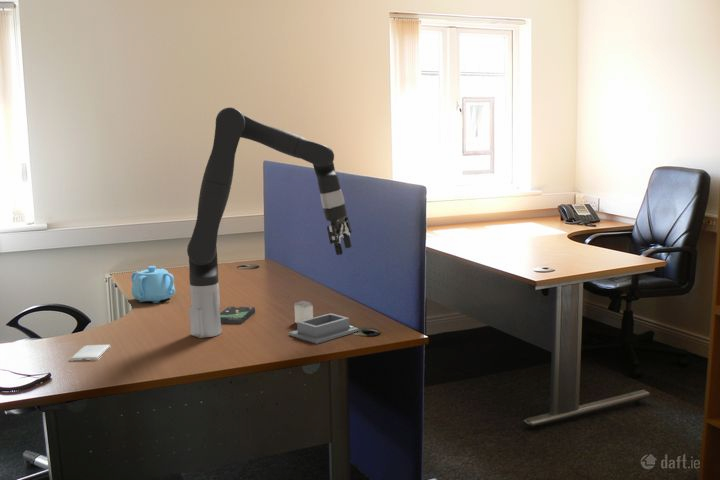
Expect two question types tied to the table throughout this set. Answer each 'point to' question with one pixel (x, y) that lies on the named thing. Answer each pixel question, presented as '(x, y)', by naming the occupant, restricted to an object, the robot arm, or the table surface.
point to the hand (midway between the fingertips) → (344, 251)
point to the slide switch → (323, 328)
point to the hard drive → (90, 352)
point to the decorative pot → (152, 285)
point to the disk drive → (236, 314)
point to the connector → (303, 311)
